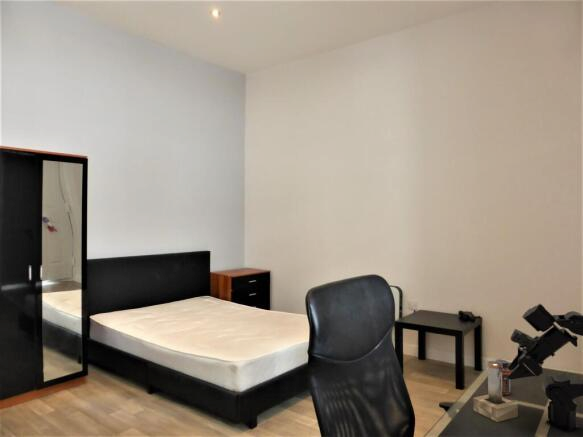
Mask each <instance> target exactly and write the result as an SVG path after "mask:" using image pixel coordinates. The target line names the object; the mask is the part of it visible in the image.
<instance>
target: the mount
mask: <svg viewBox="0 0 583 437" xmlns="http://www.w3.org/2000/svg"><path fill="white" fill-rule="evenodd" d="M472 400H473V411H475V412H476V413H477V414H481V415H482V416H484V417H486V418H489V419H490V420H492V421H494V422H496V423H499V422H504V421H506V420H511V419H515V418H517V417H518V416H519V414H518V413H519V412H518V411H519V410H518V408H519V406H518V403H517V402H514V401H512V400H509V399H507V398H504V397H503V396H502V404H493V403H491V402H489V401H488V394H485V395H484V394H483V395H480V396H476V397H475V396H474V397H473V399H472Z"/></svg>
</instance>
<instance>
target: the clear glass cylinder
mask: <svg viewBox="0 0 583 437" xmlns="http://www.w3.org/2000/svg"><path fill="white" fill-rule="evenodd" d="M486 364H487V385H488V386H487V393H488V394H487V395H488V401H489V402H491V403H493V404H502V397H503V395H502V367H503V364H502V363H500V362H496V360H490V361H487V363H486Z"/></svg>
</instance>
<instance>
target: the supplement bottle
mask: <svg viewBox="0 0 583 437" xmlns="http://www.w3.org/2000/svg"><path fill="white" fill-rule="evenodd" d="M495 361H496V362H500V363H502V364H503V367H502V396H509V395H511V393H512V392H511V391H512V380H510V379H509V378H508V375H509V374H510V373H511V372H512V370H509V369H508V366H509V362H508V361H507V360H505V359H496V360H495Z"/></svg>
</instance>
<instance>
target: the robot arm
mask: <svg viewBox="0 0 583 437" xmlns="http://www.w3.org/2000/svg"><path fill="white" fill-rule="evenodd" d="M522 318H523V319H524V320H525V322H526V323H527V324H528V325H529V326H531V328H533V329H534V330H535V331H536V332H541V333H543V334H541V335H536V336H534V337H532V336H531V335H529V334H528V333H527V334H526V333H525V332H523V331H521V330H519V329H517V328H515V329H514V330H513V331H512V334H511V336H510V341H511V342H513V343H515V344H518V346H517V354H516V356H515V357H514V358H513V360H512V361H511V362H510V364H508V369H509V370H511V373H510V374H509V375H508V378H509V379H510V380H511V381H512V380H517V379H522V378H529V377H530V378H531V377H537V378H538V377H539V376H541V375H542V374H544V373H543V369H544V368H543V365H544V364H545V362H544V361H546V360H547V359H548V358H550V357H552V358H553V357H554V356H556V352H558V351H559V350H561V349H562V348H563V347H565V346H566V345H567V344H569V343H570V344H572V345H573V346H574V347H575V348H577V347H578V346H579V345H578V340H579V338H578V336H582V337H583V314H582V313H580V312H577V311H574V310H573V311H572V310H571V311H568V312H567V313H564V314H555V315H554V314H553V315H552V314H551V313H550V312H549V311H548V310H547V309H546V308H545V307H544V305H543V304H541V303H538V304H537V305H535V306H533V307H531V308H529V309H527V310H526V311H525V312H524V314H523V315H522ZM555 323H556V324H557V325H558V326H557V325H556V324H555ZM571 333H572V334H574V335H572V334H571ZM577 335H578V336H577ZM541 387H542V389H543V391H544V394H545V396H546V398H548V400H550V401H548V405H547V420H545V423H546V425H547V424H548V425H549V426H553V427H555V428H556V429H559V430H561V431H563V432H567V433H568V432H571V431H574V430H577V429H580V428H581V426H580V425H578V424H577V407H578V405H577V403H576V401H575V400H576V399H577V398H580V397H583V379H572V378H569V377H568V374H567V373H559V374H553V373H550V376H545V377H544V378H543V380H542V382H541Z"/></svg>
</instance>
